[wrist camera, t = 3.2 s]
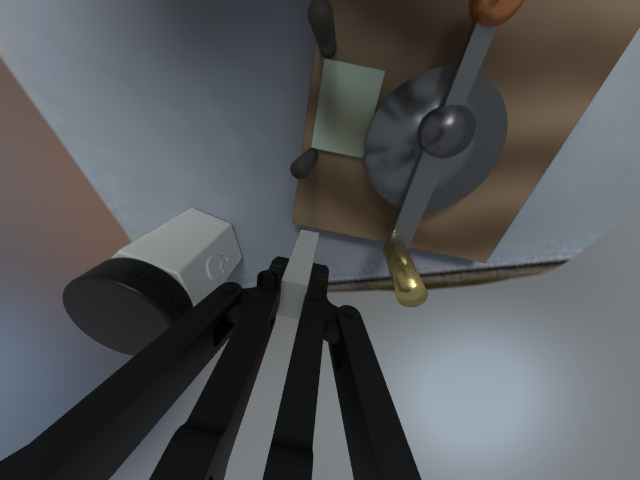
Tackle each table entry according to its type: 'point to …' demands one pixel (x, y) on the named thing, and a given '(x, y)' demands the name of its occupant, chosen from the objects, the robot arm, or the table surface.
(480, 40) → the grey metal domed piece
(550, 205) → the table surface
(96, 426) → the robot arm
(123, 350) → the jar
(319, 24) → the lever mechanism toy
